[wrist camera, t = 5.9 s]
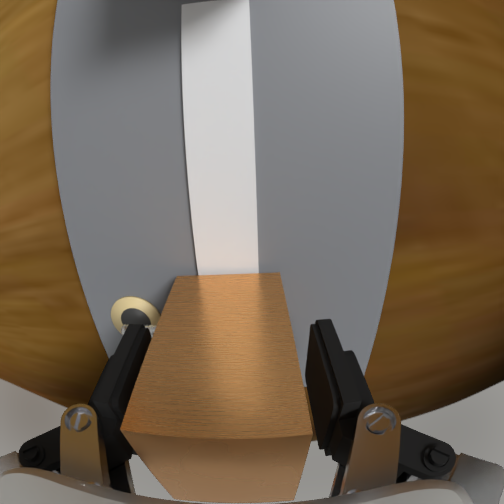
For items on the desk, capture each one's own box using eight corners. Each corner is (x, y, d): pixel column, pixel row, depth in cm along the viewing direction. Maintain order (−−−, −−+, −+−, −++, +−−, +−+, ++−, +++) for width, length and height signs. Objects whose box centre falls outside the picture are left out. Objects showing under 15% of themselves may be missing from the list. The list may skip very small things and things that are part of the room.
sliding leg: (279, 272, 11) (312, 433, 5) (278, 364, 13) (293, 500, 7) (110, 277, 11) (24, 404, 5) (137, 363, 13) (97, 483, 7)
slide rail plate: (363, -63, 7) (417, -126, 1) (355, 361, 16) (388, 449, 10) (82, -41, 6) (16, -88, 1) (127, 367, 16) (96, 453, 10)
